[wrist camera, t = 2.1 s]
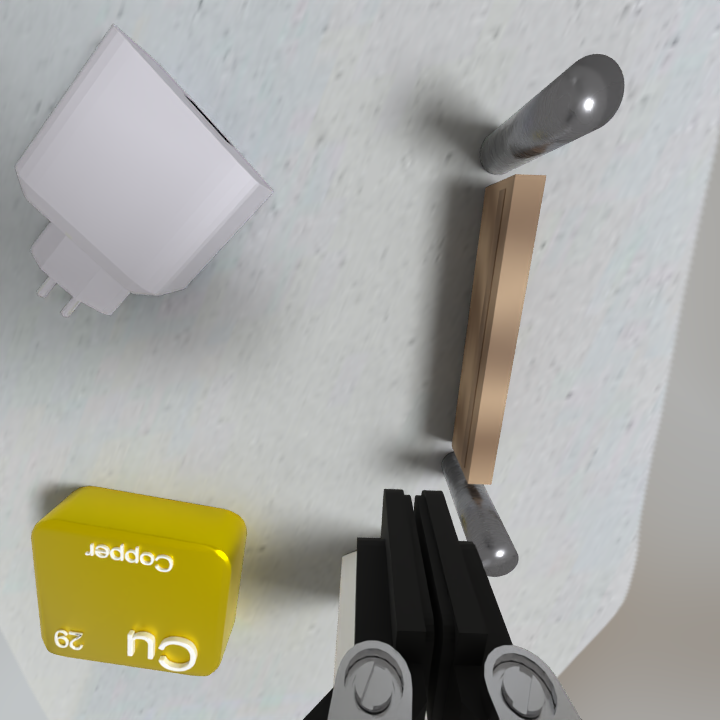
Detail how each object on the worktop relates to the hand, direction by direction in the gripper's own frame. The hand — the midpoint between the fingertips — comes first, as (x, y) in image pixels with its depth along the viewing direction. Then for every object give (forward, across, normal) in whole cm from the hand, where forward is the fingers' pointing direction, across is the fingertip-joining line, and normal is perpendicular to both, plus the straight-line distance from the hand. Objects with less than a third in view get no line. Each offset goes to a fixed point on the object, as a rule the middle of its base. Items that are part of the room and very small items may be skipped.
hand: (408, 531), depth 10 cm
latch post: (+16, -6, +8) cm, 19 cm away
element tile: (+17, +19, +20) cm, 33 cm away
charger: (+16, +16, -9) cm, 24 cm away
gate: (+16, -6, -2) cm, 17 cm away
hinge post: (+16, -6, -14) cm, 22 cm away
